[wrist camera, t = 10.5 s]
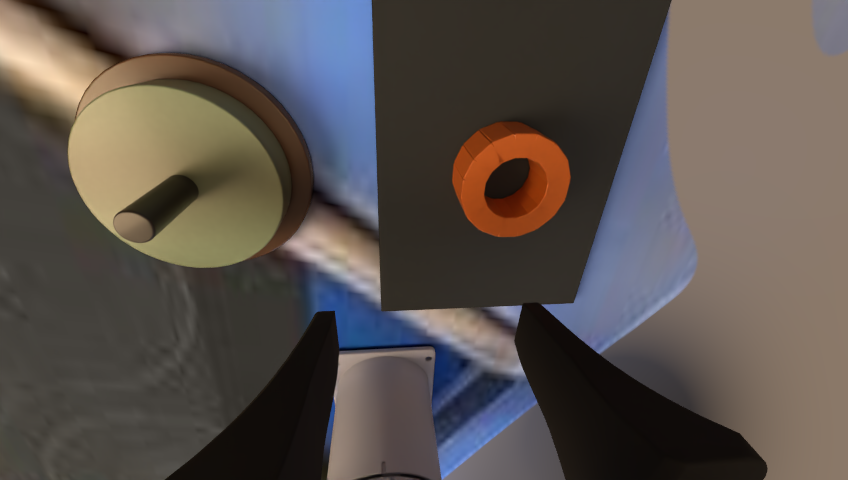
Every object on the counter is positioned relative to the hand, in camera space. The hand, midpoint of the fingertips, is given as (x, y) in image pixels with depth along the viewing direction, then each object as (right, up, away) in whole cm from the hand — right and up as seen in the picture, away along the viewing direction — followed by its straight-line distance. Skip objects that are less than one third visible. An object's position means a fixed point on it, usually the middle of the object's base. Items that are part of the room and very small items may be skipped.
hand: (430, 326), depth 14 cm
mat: (+4, +7, +7) cm, 11 cm away
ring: (+4, +7, +7) cm, 11 cm away
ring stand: (-12, +7, +5) cm, 15 cm away
